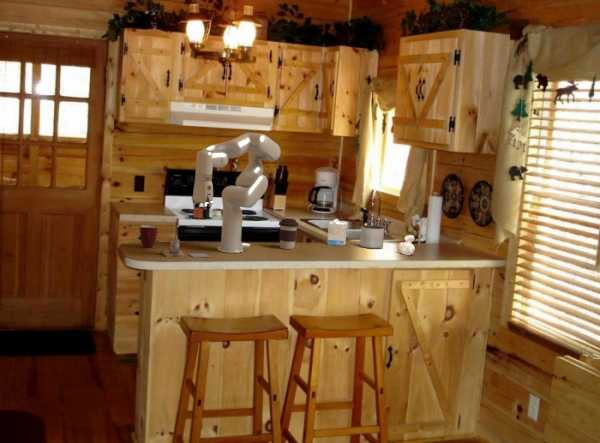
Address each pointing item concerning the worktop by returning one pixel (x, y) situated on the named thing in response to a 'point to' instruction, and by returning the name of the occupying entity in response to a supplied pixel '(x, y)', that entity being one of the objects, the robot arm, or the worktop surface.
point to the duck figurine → (407, 246)
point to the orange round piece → (198, 212)
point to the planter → (372, 237)
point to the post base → (167, 253)
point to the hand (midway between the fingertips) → (201, 216)
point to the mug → (148, 235)
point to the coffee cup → (288, 233)
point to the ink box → (337, 233)
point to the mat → (198, 255)
